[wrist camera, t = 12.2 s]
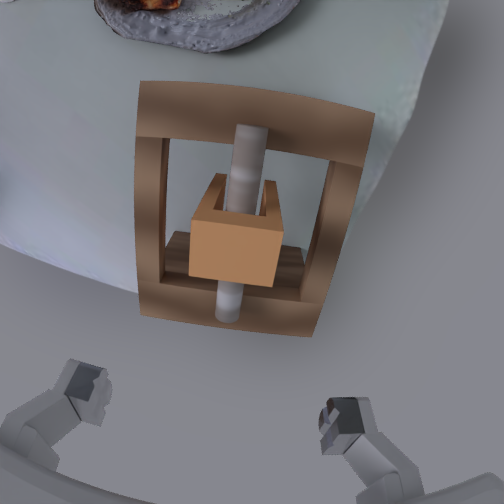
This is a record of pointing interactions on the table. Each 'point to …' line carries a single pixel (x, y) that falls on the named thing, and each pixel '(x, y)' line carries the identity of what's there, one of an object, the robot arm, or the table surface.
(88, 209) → the table surface
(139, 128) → the wooden slider frame
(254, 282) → the orange forked block
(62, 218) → the table surface
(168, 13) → the food plate
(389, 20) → the table surface
